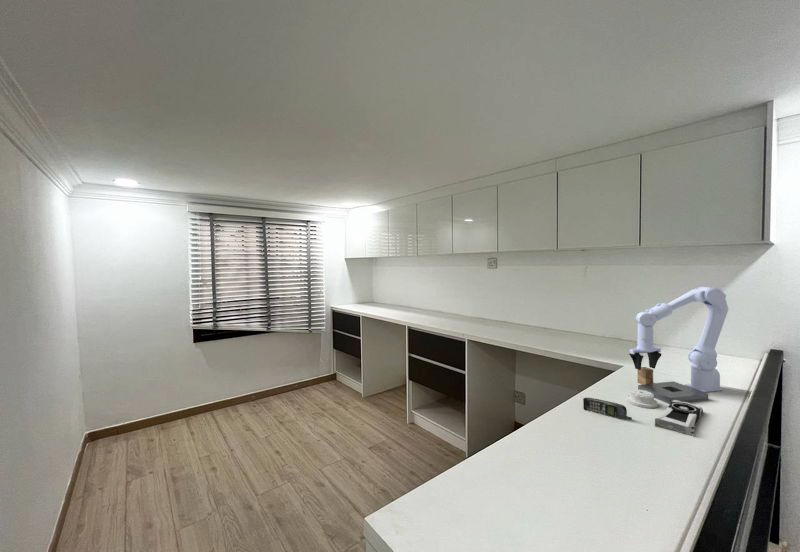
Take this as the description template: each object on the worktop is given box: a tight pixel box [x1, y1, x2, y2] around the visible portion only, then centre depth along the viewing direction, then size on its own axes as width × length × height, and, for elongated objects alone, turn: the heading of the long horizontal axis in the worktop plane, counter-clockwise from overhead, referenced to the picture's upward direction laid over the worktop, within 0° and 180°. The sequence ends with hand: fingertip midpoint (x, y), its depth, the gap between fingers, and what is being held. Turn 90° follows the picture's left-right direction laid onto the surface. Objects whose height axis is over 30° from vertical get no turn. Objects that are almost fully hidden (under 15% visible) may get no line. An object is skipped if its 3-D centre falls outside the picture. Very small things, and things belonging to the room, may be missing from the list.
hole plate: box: [637, 380, 709, 405], centre depth 134 cm, size 18×14×2 cm
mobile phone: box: [582, 397, 633, 420], centre depth 120 cm, size 5×3×15 cm
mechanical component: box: [625, 388, 659, 409], centre depth 128 cm, size 10×4×10 cm
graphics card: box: [654, 400, 704, 438], centre depth 114 cm, size 10×3×25 cm
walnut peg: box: [637, 366, 654, 385], centre depth 147 cm, size 4×4×7 cm
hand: (645, 368), depth 147 cm, fingers open, 7 cm apart
